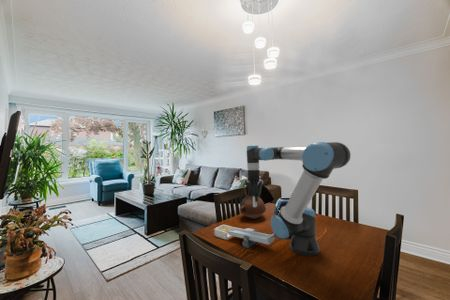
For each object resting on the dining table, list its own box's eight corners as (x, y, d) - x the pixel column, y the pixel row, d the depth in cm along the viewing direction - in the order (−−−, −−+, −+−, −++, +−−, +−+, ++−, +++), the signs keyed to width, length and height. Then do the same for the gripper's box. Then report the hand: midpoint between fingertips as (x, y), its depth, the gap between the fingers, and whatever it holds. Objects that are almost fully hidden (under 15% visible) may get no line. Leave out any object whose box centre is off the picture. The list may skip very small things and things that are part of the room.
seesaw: (279, 236, 118) (279, 230, 118) (268, 244, 108) (268, 238, 108) (240, 228, 136) (240, 223, 136) (228, 234, 126) (228, 229, 127)
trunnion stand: (258, 241, 123) (258, 231, 123) (248, 248, 114) (247, 238, 114) (253, 239, 126) (252, 229, 126) (242, 246, 117) (242, 236, 117)
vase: (253, 212, 178) (252, 178, 178) (272, 217, 163) (271, 180, 163) (233, 219, 162) (232, 182, 162) (252, 226, 147) (251, 185, 147)
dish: (236, 234, 133) (235, 228, 133) (226, 240, 126) (226, 232, 126) (223, 230, 140) (223, 224, 140) (214, 235, 133) (213, 228, 133)
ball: (226, 234, 134) (227, 229, 134) (223, 236, 132) (224, 231, 131) (222, 231, 137) (223, 226, 136) (219, 233, 134) (220, 228, 133)
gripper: (265, 169, 128) (267, 206, 127) (247, 168, 136) (249, 204, 135) (259, 170, 122) (261, 209, 121) (241, 169, 130) (243, 206, 129)
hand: (255, 206), depth 128 cm, fingers closed
